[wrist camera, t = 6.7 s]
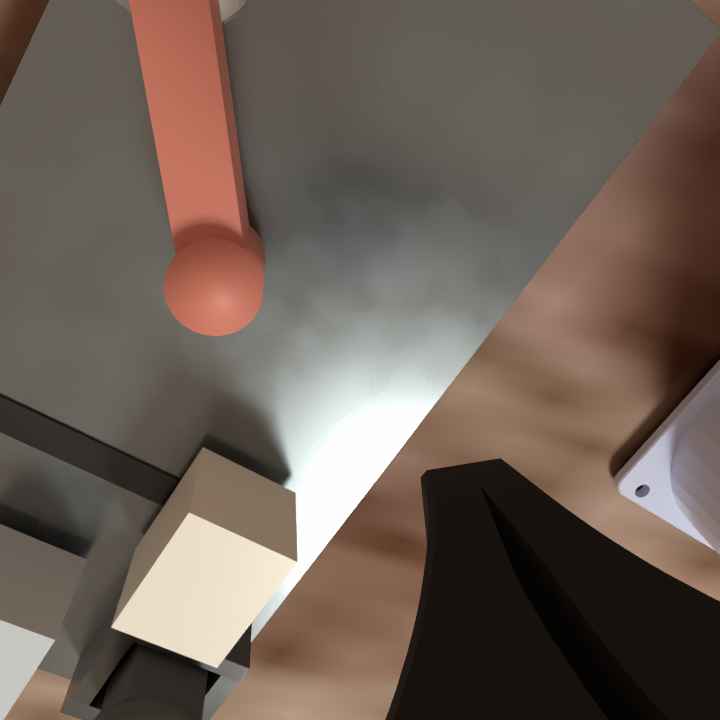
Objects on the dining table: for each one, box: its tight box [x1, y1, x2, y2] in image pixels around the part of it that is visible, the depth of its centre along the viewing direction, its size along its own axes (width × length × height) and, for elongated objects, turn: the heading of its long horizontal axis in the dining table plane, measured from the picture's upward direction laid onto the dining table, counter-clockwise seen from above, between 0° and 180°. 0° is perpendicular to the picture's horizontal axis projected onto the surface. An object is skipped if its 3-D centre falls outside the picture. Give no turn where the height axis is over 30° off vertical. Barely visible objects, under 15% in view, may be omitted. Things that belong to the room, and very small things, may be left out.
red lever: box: [129, 0, 266, 336], centre depth 13 cm, size 9×2×3 cm, turn 4°
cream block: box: [111, 447, 298, 668], centre depth 18 cm, size 3×4×3 cm
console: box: [0, 0, 720, 720], centre depth 17 cm, size 14×26×4 cm, turn 146°
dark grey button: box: [94, 643, 208, 720], centre depth 19 cm, size 3×3×3 cm
